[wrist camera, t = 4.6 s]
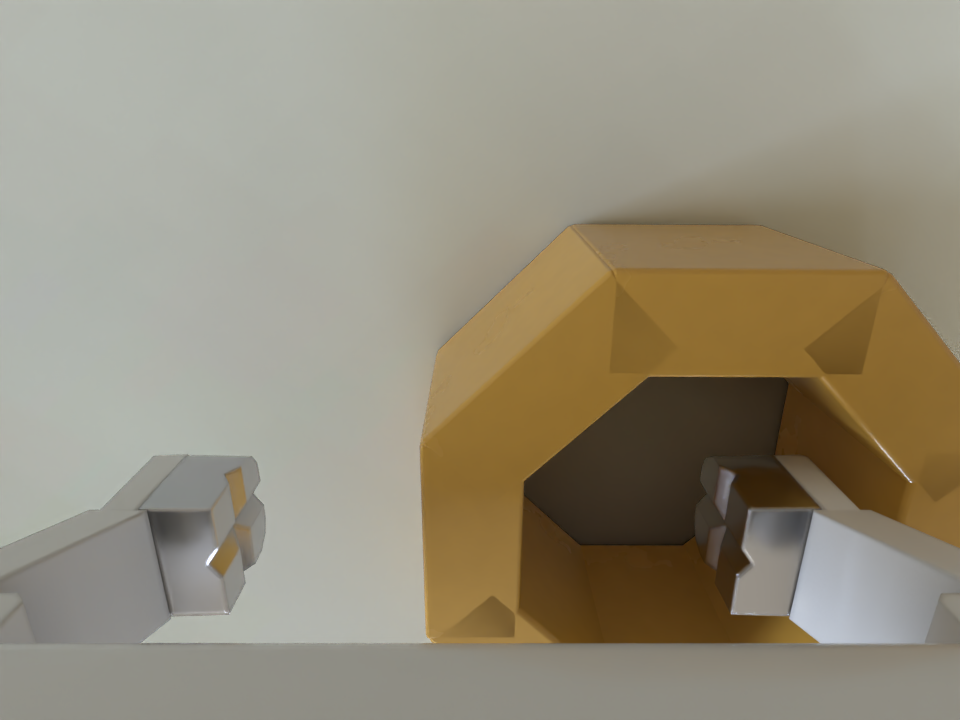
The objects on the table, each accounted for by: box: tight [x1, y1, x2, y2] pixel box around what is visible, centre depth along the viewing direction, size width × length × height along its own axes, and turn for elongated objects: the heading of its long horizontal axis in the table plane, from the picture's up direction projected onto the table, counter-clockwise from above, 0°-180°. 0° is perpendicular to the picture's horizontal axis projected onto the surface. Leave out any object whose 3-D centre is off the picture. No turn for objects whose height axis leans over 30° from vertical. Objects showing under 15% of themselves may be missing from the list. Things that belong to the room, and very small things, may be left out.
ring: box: [420, 224, 960, 643], centre depth 10 cm, size 8×8×4 cm
